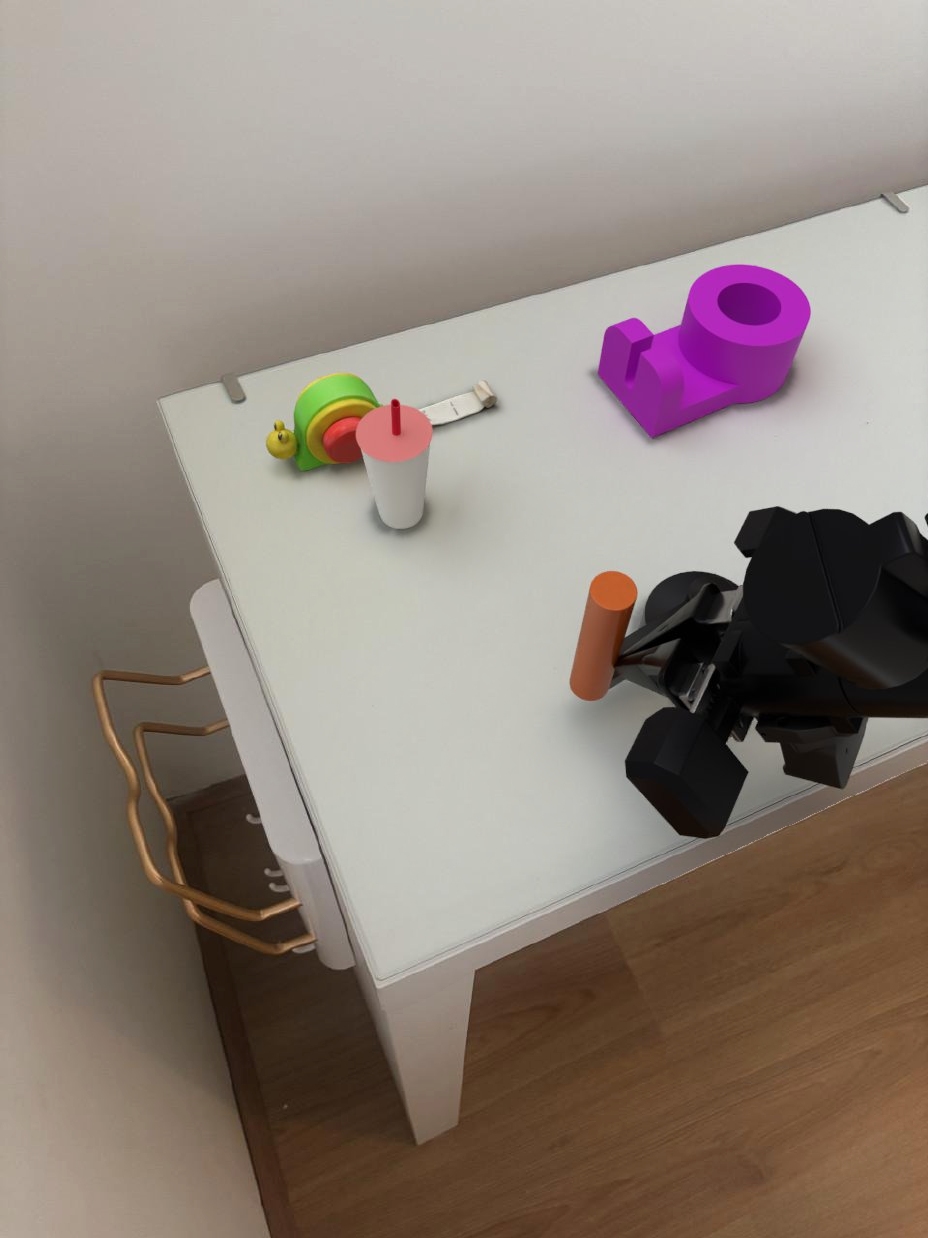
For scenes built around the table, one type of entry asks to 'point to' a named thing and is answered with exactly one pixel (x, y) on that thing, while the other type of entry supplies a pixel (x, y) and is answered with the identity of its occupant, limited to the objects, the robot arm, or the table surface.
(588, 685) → the crank handle
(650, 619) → the base
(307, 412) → the toy measuring tape
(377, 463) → the cup
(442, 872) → the table surface
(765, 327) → the tape dispenser
